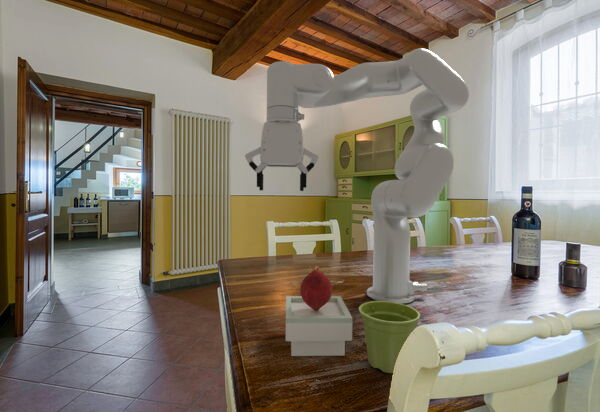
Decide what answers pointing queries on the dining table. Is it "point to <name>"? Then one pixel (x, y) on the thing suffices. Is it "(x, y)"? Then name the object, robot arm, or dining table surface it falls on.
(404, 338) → the plant pot
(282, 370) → the dining table surface
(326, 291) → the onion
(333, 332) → the pedestal
